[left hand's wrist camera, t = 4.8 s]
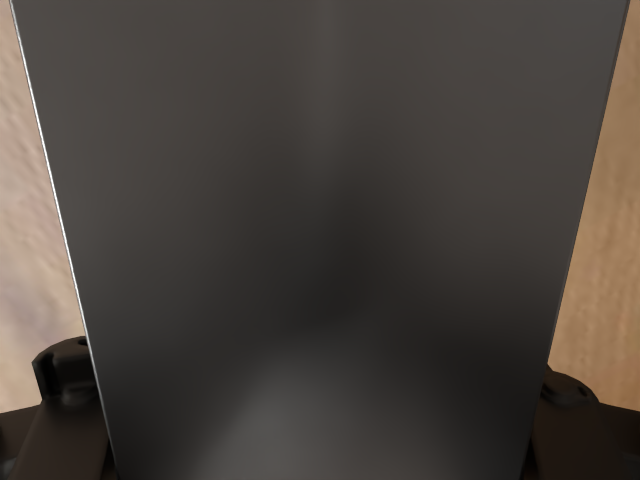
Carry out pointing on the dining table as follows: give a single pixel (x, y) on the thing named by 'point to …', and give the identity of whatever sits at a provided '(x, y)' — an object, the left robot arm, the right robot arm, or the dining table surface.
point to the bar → (319, 222)
